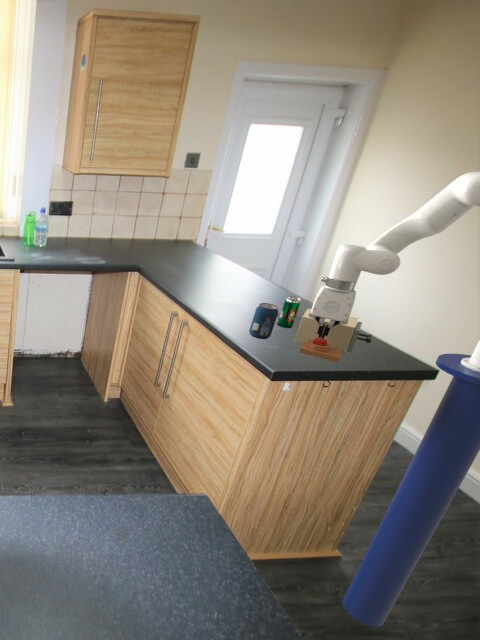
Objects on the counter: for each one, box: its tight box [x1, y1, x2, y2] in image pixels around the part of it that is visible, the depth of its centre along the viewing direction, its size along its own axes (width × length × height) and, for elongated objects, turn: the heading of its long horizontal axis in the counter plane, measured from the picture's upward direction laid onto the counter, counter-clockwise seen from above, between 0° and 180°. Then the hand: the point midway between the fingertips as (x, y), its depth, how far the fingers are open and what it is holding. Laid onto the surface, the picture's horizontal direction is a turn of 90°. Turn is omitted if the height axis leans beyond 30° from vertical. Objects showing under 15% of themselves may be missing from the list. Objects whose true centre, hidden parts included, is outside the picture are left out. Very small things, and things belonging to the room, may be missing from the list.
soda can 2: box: [276, 296, 302, 329], centre depth 179 cm, size 5×5×12 cm
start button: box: [313, 338, 327, 346], centre depth 159 cm, size 4×4×2 cm
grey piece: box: [346, 321, 373, 353], centre depth 164 cm, size 18×12×8 cm, turn 49°
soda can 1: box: [248, 302, 279, 340], centre depth 170 cm, size 7×7×12 cm
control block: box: [298, 340, 343, 363], centre depth 159 cm, size 11×8×4 cm
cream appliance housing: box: [293, 308, 359, 355], centre depth 167 cm, size 15×13×10 cm
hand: (321, 336), depth 158 cm, fingers closed
